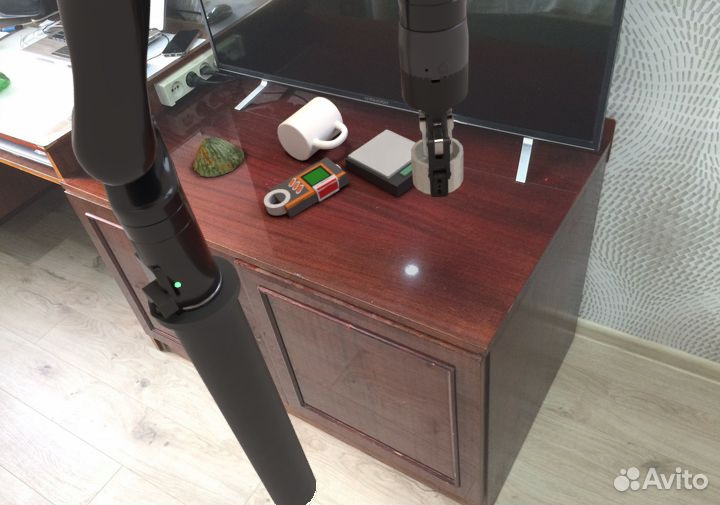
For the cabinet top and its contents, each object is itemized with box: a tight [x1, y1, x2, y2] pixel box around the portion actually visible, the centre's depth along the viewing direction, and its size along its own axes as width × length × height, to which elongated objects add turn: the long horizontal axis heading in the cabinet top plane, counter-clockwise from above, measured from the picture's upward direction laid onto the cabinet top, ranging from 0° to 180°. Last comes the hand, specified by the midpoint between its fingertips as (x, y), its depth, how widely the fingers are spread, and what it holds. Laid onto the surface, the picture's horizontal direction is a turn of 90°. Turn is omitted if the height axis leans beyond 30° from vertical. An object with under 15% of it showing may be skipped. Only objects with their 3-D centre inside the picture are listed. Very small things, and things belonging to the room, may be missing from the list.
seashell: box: [192, 136, 245, 178], centre depth 114 cm, size 10×4×10 cm
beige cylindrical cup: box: [411, 137, 464, 195], centre depth 75 cm, size 6×6×5 cm
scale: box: [344, 129, 416, 198], centre depth 106 cm, size 11×13×3 cm
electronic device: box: [263, 156, 350, 218], centre depth 104 cm, size 7×3×15 cm
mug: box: [277, 96, 349, 161], centre depth 111 cm, size 12×10×8 cm
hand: (437, 177), depth 76 cm, fingers closed on beige cylindrical cup, 6 cm apart
